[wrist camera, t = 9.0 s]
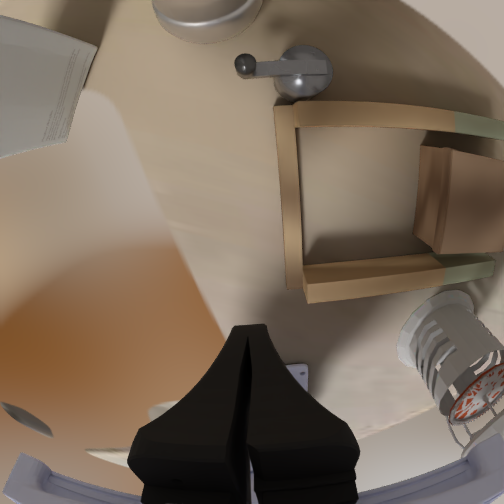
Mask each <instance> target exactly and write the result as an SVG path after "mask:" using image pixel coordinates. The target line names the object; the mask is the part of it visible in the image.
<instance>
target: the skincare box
mask: <svg viewBox="0 0 504 504" xmlns="http://www.w3.org/2000/svg"><path fill="white" fill-rule="evenodd" d="M96 51H97V47H96V46H94V45H92V44H90V43H87V42H84V41H82V40H79V39H76V38H73V37H71V36H68V35H65V34H62V33H59V32H56V31H53V30H50V29H47V28H44V27H41V26H38V25H35V24H32V23H28V22H25V21H21V20H18V19H14V18H10V17H6V16H2V15H0V159H1V158H4V157H7V156H10V155H14V154H18V153H22V152H26V151H29V150H33V149H37V148H41V147H46V146H51V145H55V144H60V143H65V142H66V141H67V138H68V134H69V130H70V127H71V123H72V119H73V115H74V112H75V109H76V106H77V103H78V99H79V96H80V93H81V91H82V88H83V85H84V82H85V79H86V76H87V73H88V71H89V68H90V65H91V62H92V60H93V58H94V55H95V53H96Z"/></svg>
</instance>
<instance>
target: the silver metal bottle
mask: <svg viewBox="0 0 504 504" xmlns="http://www.w3.org/2000/svg"><path fill="white" fill-rule="evenodd" d="M262 2H263V0H152V5H153V9H154V12H155V14H156V16H157V18H158V20H159V22H160V24H161V25H162V27H163V28H164V29H165V30H166V31H168V32H169V33H171V34H172V35H174V36H176V37H178V38H180V39H182V40H185V41H187V42H192V43H197V44H210V43H217V42H221V41H225V40H228V39H230V38H233V37H235V36H236V35H238V34H240V33H241V32H243V31H244V30H245V29H246V28H248V27H249V25H250V24H251V23H252V22H253V21H254V19H255V17H256V15H257V14H258V12H259V10H260V8H261V6H262Z"/></svg>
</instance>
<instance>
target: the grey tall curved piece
mask: <svg viewBox="0 0 504 504" xmlns="http://www.w3.org/2000/svg"><path fill="white" fill-rule="evenodd" d="M475 317H476V316H475V315H474V304H473V302H472V300H471V298H470V296H469V295H468V294H466V293H464V292H462V291H460V290H450V291H443V292H441V293H439V294H437V295H435V296H433V297H431V298H429V299H428V300H427V301H425V302H424V303H423V304H422V305H421V306H420V307H419V308H418V309H417V310H415V311H414V312H413V313H412V315H411V316H410V318H409V319H408V321H407V322H406V324H405V325H404V327H403V328H402V330H401V333H400V336H399V339H398V343H397V351H398V358H399V359H400V360H401V361H402V362H403V363H404V364H405V365H406V366H409V367H413V368H417V370H418V372H419V373H420V375H421V373H422V375H423V376H422V375H421V377H422V379H423V380H424V382H425V384H426V386H427V388H428V389H429V391H430V393H431V395H432V397H433V399H435V403H436V405H437V407H438V408H439V410H440V412H441V414H443V415H444V416H445V417H446V420H447V423H448V427H449V430H450V432H451V433H452V436H453V438H454V440H455V441H456V443H457V444H458V445H459V446H460V447H461V448H462V449H464V450H463V452H462V455H461V458H464V457H466V456H467V454H468V453H469V451H470V450H471V449H472V448H473V447H474V446H476V445H477V444H479V443H480V442H482V441H484V440H486V439H488V438H490V437H492V436H494V435H495V434H497V433H500V434H501V436H502V438H503V440H504V409H503V410H502V411H501V412H500V413H499V414H498V415H497V414H496V412H495V411H494V409H493V408H492V406H494V404H497V401H499V399H501V398H502V396H503V395H504V346H503V345H502V344H501V343H500V342H499V340H498V339H497V338H496V337H495V336H493V335H492V333H491V332H490V331H489V329H488V328H485V326H484V324H483V323H482V322H481V321H480V320H478V318H477V317H476V319H477V320H476V319H475ZM481 324H482V325H483V327H482V325H481ZM488 332H489V333H490V334H489V333H488ZM497 350H499V351H500V355H501V361H500V364H498V365H495V363H496V360H497V357H498V354H497ZM493 351H494V353H493V357H492V361H491V363H490V364H489V365H488V367H487V368H486V369H485V370H484V371H482V372H481V373H479V374H477V375H475V374H474V371H476V370H477V369H479V368H480V367H481V366H482V365H483V364H484V363H485V362H486V361H487V360H488V358H489V354H490V352H493ZM481 357H483V358H482V359H481V360H480V361H479V362H478V363H477V364H475V365H473V366H472V367H469V366H470V365H472V364H473V363H474V362H475V361H477V360H478V359H479V358H481ZM438 364H440V365H441V368H440V370H439V371H437V370H436V368H435V366H436V365H438ZM452 383H453V385H454V387H455V388H456V390H457V399H456V401H455V400H454V398H453V396H452V394H451V393H450V391H449V389H448V388H449V386H450V385H451V384H452ZM432 393H433V394H432ZM489 409H491V411H492V413H493V414H494V416H495V417H494V418H493V419H492V420H490V421H489V422H488V423H487V424H486V425H485V426H484V427H483V428H482V429H481V430H479V431H477V432H475V433H473V434H471V433H470V431H469V429H468V428H467V426H466V423H469V422H470V421H471V422H472V420H473V421H474V419H477V417H480V416H481V415H483V414H484V413H486V411H488V410H489ZM448 416H449V419H448ZM450 423H451V424H452V425H454V426H455V425H463V426H464V428H465V429H466V432H467V433H468V434H469V436H470V442H469V443H468V444H467V445H466V446H465V447H464V446H463V445H462V444H460V443H459V442H458V440H457V439H456V437H455V434H454V432H453V430H452V428H451V426H450ZM474 435H475V436H474Z"/></svg>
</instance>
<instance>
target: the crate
mask: <svg viewBox="0 0 504 504" xmlns="http://www.w3.org/2000/svg"><path fill="white" fill-rule="evenodd" d="M413 234H414V235H415V236H417V237H418V238H419V239H421V240H422V241H424V242H425V243H426V244H428V245H429V246H430V247H432V250H433V251H434V252H435V253H436V254H460V253H488V252H503V247H504V161H501V160H497V159H493V158H489V157H484V156H480V155H475V154H470V153H465V152H460V151H457V149H452V148H446V147H443V148H437V147H430V146H422V145H420V165H419V180H418V192H417V202H416V211H415V220H414V227H413Z"/></svg>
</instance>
